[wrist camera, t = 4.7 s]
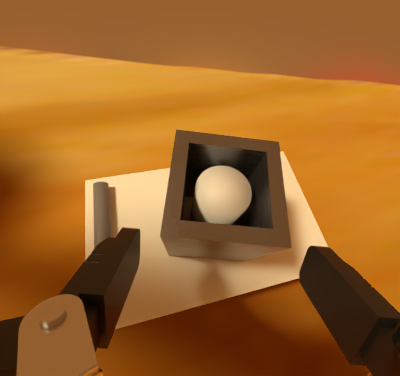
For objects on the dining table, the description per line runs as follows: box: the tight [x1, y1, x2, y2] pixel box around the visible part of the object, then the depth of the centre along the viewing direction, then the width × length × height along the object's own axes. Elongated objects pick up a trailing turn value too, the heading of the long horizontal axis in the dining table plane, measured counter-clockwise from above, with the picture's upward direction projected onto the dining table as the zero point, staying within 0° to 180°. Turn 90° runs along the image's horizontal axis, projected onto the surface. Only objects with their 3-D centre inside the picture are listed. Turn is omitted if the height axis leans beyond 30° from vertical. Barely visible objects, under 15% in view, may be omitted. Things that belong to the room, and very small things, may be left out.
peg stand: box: [85, 151, 328, 329], centre depth 16 cm, size 20×12×10 cm, turn 103°
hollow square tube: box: [160, 130, 292, 262], centre depth 14 cm, size 6×6×8 cm
